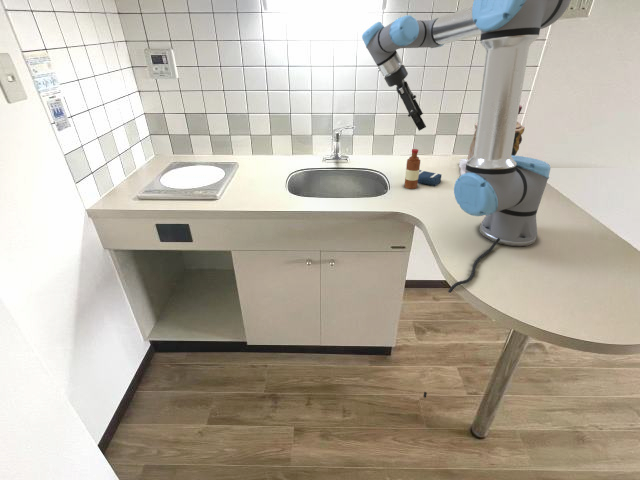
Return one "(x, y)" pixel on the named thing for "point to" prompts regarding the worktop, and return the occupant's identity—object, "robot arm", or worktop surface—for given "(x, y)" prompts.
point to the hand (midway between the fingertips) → (421, 121)
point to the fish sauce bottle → (412, 170)
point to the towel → (429, 178)
